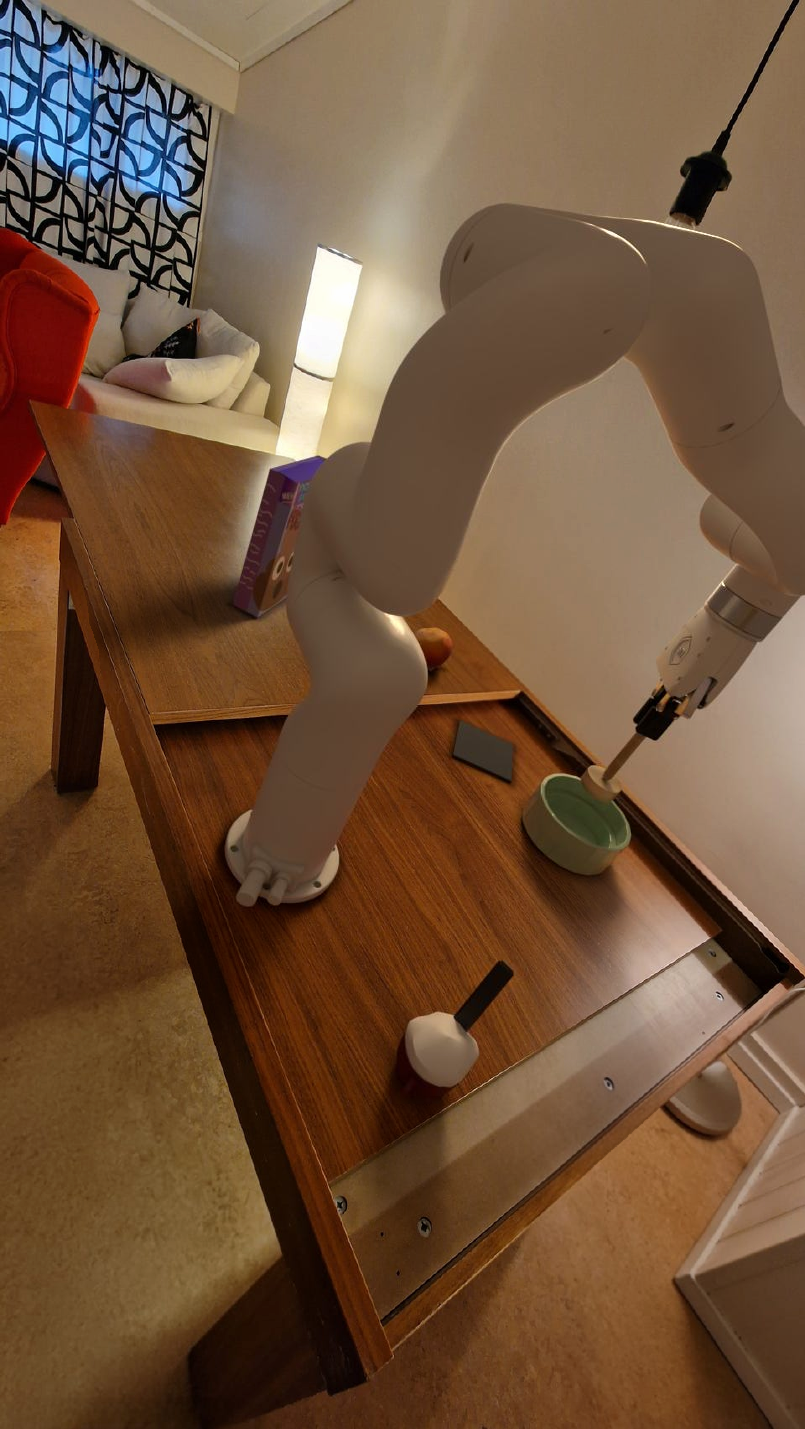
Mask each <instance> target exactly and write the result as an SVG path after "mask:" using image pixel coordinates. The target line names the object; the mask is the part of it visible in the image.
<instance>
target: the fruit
mask: <svg viewBox="0 0 805 1429" xmlns="http://www.w3.org/2000/svg"><path fill="white" fill-rule="evenodd" d="M413 634H414V636H415V637H416V639H417V641H418V643H419V645H420V647H421V649H422V652H423V654H424V657H425V661H426V665H427V671H429V672H430V673H431V672H432V671H433V670H434V669H436V668H438V667H440V668H441V669H443V667H442V665H444V663H445V662H446V661H448V660H449V658H450V656H451V655H452V652H453V641H452V638H451V636H450V635H449V633H448V632H446V631H444V630H442V629H440V628H438V627H428V628H427V627H426V628H420V629H418V630H417V631H415V632H413Z"/></svg>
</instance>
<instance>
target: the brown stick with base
mask: <svg viewBox="0 0 805 1429" xmlns="http://www.w3.org/2000/svg"><path fill="white" fill-rule="evenodd" d="M672 701H673V700H672ZM672 701H671V702H672ZM645 739H647V737H645V736H643V735H641V734H639V733H637V732H636V731H635V732H634V734H632V736H631V737H630V739H629V740H628V741H627V742H626V744H624V746H623V747H622V748H621V749H620V751H619V752H618V754H616V755H615V757H614V758H613V760H611V762H610V763H609V764H608V766H607V767H606V768H604V767H602V766H600V765H590V766H588V767H587V769H586V770H585V771H584V773H583V774H582V775H581V777H580V778H581V784H582V786H583V788H584V789H585V790H586V791H587V792H588V793H589V794H590V795H591V796H592V797H594V798H595V799H597V800H599V801H602V802H611V801H612V800H613V801H614V799H615V798H616V797H617V796H618V795H619V794H620V792H621V791H622V784H621V783H620V781H619V779H618V778H617V777H616V774H617V773H618V772H619V771H620V770H621V768H622V767H623V766H624V765H625V764H626V762H627V761H628V760H629V759H630V758H631V756H632V755H633V754H634V753H635V751H637V749H638V748H639V747H640V746H641V745H642V743H643V742H644V741H645Z"/></svg>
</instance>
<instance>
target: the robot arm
mask: <svg viewBox="0 0 805 1429" xmlns="http://www.w3.org/2000/svg"><path fill="white" fill-rule="evenodd" d="M440 266H441V267H440V270H439V293H440V301H441V304H442V308H443V311H444V314H443V315H442V316H441V317H440V318H438V319H437V320H436V321H435V322H434V323H433V324H432V325H431V326H430V327H429V328H428V329H427V330H426V331H425V332H424V333H423V334H422V335H421V336H420V338H419V339H417V341H416V342H415V343H414V345H413V346H412V347H411V349H410V350H409V351H408V353H407V354H406V355H405V357H404V358H403V359H402V361H401V363H400V364H399V366H398V367H397V370H396V372H395V373H394V375H393V377H392V380H391V382H390V383H389V387H388V388H387V391H386V393H385V396H384V399H383V402H382V405H381V408H380V411H379V415H378V419H377V422H376V425H375V429H374V430H373V431H374V432H373V435H372V437H371V441H357V442H353V443H349V444H346V445H344V446H342V447H341V448H338V449H337V450H336V451H334V452H332V453H331V454H330V455H329V456H327V457H326V458H327V459H326V460H325V461H324V462H323V463H322V465H321V466H320V467H319V469H318V470H317V472H316V473H315V475H314V477H313V479H312V481H311V482H310V485H309V487H308V490H307V492H306V496H305V500H304V504H303V508H302V513H301V518H300V523H299V528H298V533H297V538H296V543H295V548H294V554H293V559H292V564H291V570H290V575H289V580H288V587H287V596H286V599H285V610H286V616H287V620H288V624H289V626H290V630H291V632H292V634H293V637H294V639H295V641H296V643H297V645H298V648H299V650H300V652H301V655H302V658H303V661H304V663H305V665H306V667H307V670H308V673H309V678H310V688H309V691H308V693H307V695H306V696H305V697H304V699H303V700H301V701H300V702H299V703H297V704H296V705H295V706H294V707H293V708H292V709H291V710H290V712H289V713H288V715H287V717H286V719H285V721H284V724H283V726H282V728H281V731H280V734H279V736H278V739H277V743H276V746H275V749H274V751H273V753H272V756H271V760H270V762H269V764H268V768H267V770H266V773H265V775H264V778H263V781H262V783H261V786H260V789H259V791H258V794H257V796H256V799H255V802H254V804H253V807H252V809H249V810H247V811H246V812H244V813H243V814H241V815H239V816H238V818H236V819H235V820H234V822H233V823H232V825H231V826H230V828H229V830H228V832H227V835H226V838H225V844H224V857H225V860H226V863H227V864H226V865H227V867H228V868H229V870H230V872H231V874H232V876H234V878H235V879H236V880H237V881H238V883H239V884H240V885H241V886H240V888H239V890H238V892H237V893H236V895H235V900H236V902H237V903H238V904H239V905H241V906H243V907H248V908H249V907H253V906H254V905H255V904H256V902H257V900H258V898H259V897H261V898H262V899H265V900H266V901H267V902H268V903H269V905H272V906H279V905H280V904H296V903H303V902H307V901H310V900H313V899H315V898H317V897H318V896H320V895H322V894H323V893H325V891H327V889H329V887H330V885H331V884H332V883H333V881H334V879H335V877H336V875H337V873H338V870H339V866H340V853H339V850H338V846H337V843H338V841H339V838H340V837H341V834H342V832H343V830H344V828H345V827H346V824H347V823H348V821H349V819H350V817H351V815H352V812H353V811H354V808H355V807H356V805H357V803H358V801H359V798H360V797H361V795H362V793H363V791H364V789H365V787H366V785H367V784H368V781H369V779H370V777H371V775H372V773H373V771H374V769H375V767H376V765H377V763H378V761H379V759H380V758H381V756H382V754H383V752H384V751H385V749H386V747H387V745H388V744H389V742H390V741H391V740H392V738H393V737H394V735H395V734H396V733H397V731H398V730H399V729H400V728H401V726H402V725H403V724H404V723H405V722H406V721H407V720H408V719H409V717H410V716H411V715H412V714H413V712H414V711H415V710H416V709H417V708H418V706H419V705H420V704H421V702H422V700H423V698H424V696H425V693H426V691H427V686H428V682H429V681H428V679H429V676H428V675H429V673H428V669H427V665H426V661H425V657H424V654H423V652H422V649H421V647H420V645H419V643H418V641H417V639H416V637H415V636H414V632H413V630H412V629H411V628H410V626H409V625H408V623H407V621H406V620H405V619H404V617H411V616H415V615H418V614H420V613H422V612H424V611H426V610H427V609H428V608H430V607H431V606H432V605H433V604H434V603H436V602H437V601H438V599H439V597H440V596H441V595H442V594H443V592H444V590H445V589H446V587H447V585H448V584H449V581H450V578H451V576H452V574H453V571H454V569H455V566H456V564H457V562H458V559H459V557H460V554H461V552H462V549H463V545H464V543H465V540H466V537H467V535H468V532H469V529H470V527H471V525H472V521H473V518H474V516H475V513H476V510H477V508H478V505H479V502H480V500H481V497H482V495H483V491H484V489H485V486H486V483H487V482H488V479H489V477H490V475H491V472H492V470H493V468H494V466H495V463H496V461H497V460H498V457H499V455H500V453H501V452H502V450H503V448H504V446H505V445H506V444H507V442H508V441H509V440H510V439H511V437H512V436H513V434H514V433H515V432H517V430H518V429H519V428H520V427H521V426H522V425H523V424H524V423H525V422H526V421H527V420H529V419H530V418H532V417H533V416H534V415H535V414H537V413H538V412H540V410H542V409H543V408H545V407H547V406H549V405H550V404H551V403H553V402H555V401H556V400H558V399H560V398H562V397H565V396H566V395H569V394H570V393H572V392H574V391H576V390H579V389H581V388H582V387H585V386H587V385H589V384H591V383H593V382H594V381H596V380H598V379H600V378H601V377H602V376H604V375H606V373H608V372H609V371H610V370H611V369H612V368H614V367H615V366H616V365H618V363H619V362H620V361H621V360H624V361H626V362H628V363H629V364H631V365H632V366H633V367H634V368H635V369H636V370H637V372H638V373H639V375H640V376H641V378H642V381H643V382H644V384H645V387H646V389H647V392H648V395H649V397H650V398H651V401H652V402H653V405H654V408H655V410H656V412H657V414H658V417H659V419H660V421H661V423H662V426H663V429H664V431H665V434H666V436H667V438H668V441H669V444H670V446H671V448H672V452H673V453H674V454H675V457H676V460H678V461H679V463H680V464H681V465H682V467H683V468H684V469H685V470H686V471H687V472H688V473H689V474H690V475H691V477H693V479H695V481H696V482H697V483H698V484H699V485H700V486H701V487H702V488H704V489H705V490H706V492H708V495H707V496H706V497H705V499H704V501H703V502H702V505H701V506H700V509H699V513H698V527H699V531H700V532H701V535H702V536H703V538H704V540H705V541H706V542H707V543H708V544H709V545H710V546H711V547H712V548H714V549H715V550H716V551H718V552H719V553H721V554H722V555H724V556H725V557H726V558H728V560H730V561H732V562H733V563H735V564H734V565H733V566H732V568H731V569H730V570H729V572H727V574H726V575H725V577H724V578H723V579H722V581H721V582H720V583H719V584H718V585H717V587H716V588H715V589H714V591H713V592H712V594H710V596H709V597H708V599H706V600H705V603H703V605H702V607H700V608H699V610H698V611H696V612H695V614H693V616H692V617H691V618H690V619H688V620H687V622H686V623H685V624H684V626H683V627H682V628H681V629H680V630H679V631H678V632H677V634H675V636H674V637H673V638H672V639H671V640H670V642H669V643H668V644H667V645H666V646H665V648H664V649H663V650H662V651H661V653H660V654H658V656H657V657H656V669H657V671H658V673H659V677H660V679H659V682H658V684H657V685H656V686H655V688H654V689H653V690H652V692H651V694H650V697H648V698H647V700H646V701H645V703H644V704H643V705H642V707H641V708H640V709H639V710H638V711H637V712H636V714H635V715H634V717H632V722H633V723H634V724H635V725H636V726H635V728H634V729H635V733H636V732H637V733H639V734H641V735H643V736H645V737H646V738H647V739H649V740H652V741H654V742H655V741H658V740H659V739H660V738H661V737H662V736H663V734H665V732H666V731H667V730H668V728H669V727H670V726H672V724H673V723H674V721H678V720H679V719H680V718H681V717H683V718H685V719H687V720H690V719H691V718H692V717H693V715H694V713H695V711H696V710H704V709H706V708H707V707H709V705H711V704H712V703H713V702H714V701H715V700H716V698H717V697H718V696H719V695H720V694H721V693H722V692H723V691H724V689H725V688H726V687H727V686H728V684H729V683H730V682H731V681H732V679H733V678H735V675H736V674H737V673H738V671H739V670H740V669H741V668H742V666H743V665H744V664H745V662H746V661H747V659H748V658H749V656H750V655H751V653H752V652H753V650H754V649H755V647H756V646H757V644H758V643H762V642H764V640H765V639H766V638H767V637H768V635H769V634H770V633H771V632H772V631H773V630H774V629H775V628H776V626H777V625H778V624H779V623H780V621H782V620H783V618H784V617H785V616H786V615H787V613H788V612H789V611H790V610H791V609H792V607H793V606H794V605H795V604H796V603H797V602H798V601H799V600H800V598H801V597H802V596H803V597H804V596H805V424H804V423H803V422H802V421H801V419H800V418H799V417H798V416H797V414H796V413H795V412H794V411H793V410H792V408H791V407H790V406H789V404H788V402H787V400H786V395H785V393H784V388H783V383H782V377H781V372H780V368H779V363H778V359H777V354H776V349H775V346H774V340H773V335H772V331H771V326H770V322H769V317H768V312H767V308H766V302H765V298H764V292H763V290H762V285H761V282H760V278H759V274H758V271H757V268H756V265H755V264H754V262H753V261H752V259H751V257H750V256H749V254H748V253H747V252H746V251H745V250H743V248H741V247H740V246H738V245H737V244H736V243H734V242H733V241H730V240H727V239H725V238H722V237H719V236H717V235H713V234H709V233H704V232H699V231H696V230H691V229H687V228H683V227H679V226H675V225H671V224H667V223H662V222H657V221H654V220H647V219H639V218H638V219H636V218H626V217H614V216H604V215H593V214H585V213H580V212H579V213H578V212H571V211H565V210H558V209H552V208H544V207H538V206H531V205H525V204H518V203H510V202H504V203H496V204H492V205H488V206H486V207H484V208H482V209H480V210H478V211H476V212H474V213H473V214H471V216H470V217H468V218H467V219H466V220H464V222H463V223H462V224H461V225H460V226H459V227H458V228H457V230H456V231H455V232H454V234H453V236H452V237H451V239H450V241H449V243H448V244H447V246H446V249H445V252H444V254H443V257H442V261H441V265H440ZM672 700H673V701H672ZM671 701H672V702H671Z"/></svg>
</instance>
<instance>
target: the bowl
mask: <svg viewBox="0 0 805 1429" xmlns="http://www.w3.org/2000/svg"><path fill="white" fill-rule="evenodd" d="M521 819H522V822H523V826H524V828H525V831H526V833H527V835H528V836H529V838H530V840H531V841H532V842H533V844H534V845H535V846H536V847H537V849H538V850H539V851H540V852H541V853H542V854H544V855H545V856H546V857H547V858H548V859H549V860H551V861H552V862H554V863H555V864H557V865H558V866H560V867H561V868H563V869H565V870H568V871H570V872H571V873H574V874H579V875H583V876H593V875H594V876H595V875H599V874H602V873H603V872H604V871H606V870H607V869H608V868H609V867H610V866H611V865H612V864H613V862H614V861H615V860H616V859H617V858H618V857H619V856H620V855H621V854H622V853H623V852H624V850H625V849H626V848H627V847H628V846H629V844H630V841H631V838H632V833H631V827H630V823H629V822H628V820H627V818H626V816H625V814H624V812H623V811H622V810H621V808H620V807H619V806H618V805H617V803H616V802H615V801H614V799H613V800H612V801H611V802H602V801H599V800H597V799H595V798H594V797H592V796H591V795H590V794H589V793H588V792H587V791H586V790H585V789H584V788H583V786H582V784H581V777H578V776H576V775H573V774H572V775H571V774H568V773H552V774H550V775H547V776H546V777H544V779H542V781H541V782H540V784H539V785H538V787H537V788H536V789H535V790H534V792H533V793H532V795H531V796H530V797H529V799H528V800H527V801H526V803H525V805H524V807H523V808H522V818H521Z"/></svg>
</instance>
